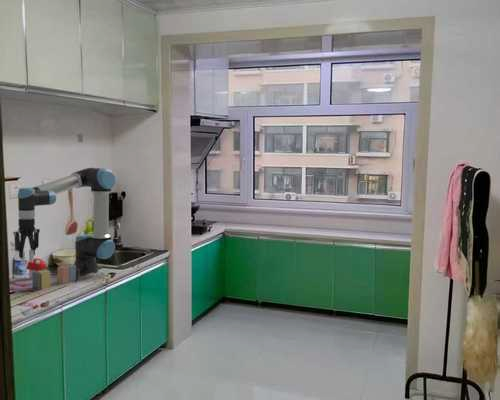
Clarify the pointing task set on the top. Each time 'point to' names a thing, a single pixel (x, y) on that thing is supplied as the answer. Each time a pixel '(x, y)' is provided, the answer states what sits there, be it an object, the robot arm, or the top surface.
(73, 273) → the book slate
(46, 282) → the book ochre
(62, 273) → the book terracotta
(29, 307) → the top surface
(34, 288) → the bookend
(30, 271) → the mushroom
